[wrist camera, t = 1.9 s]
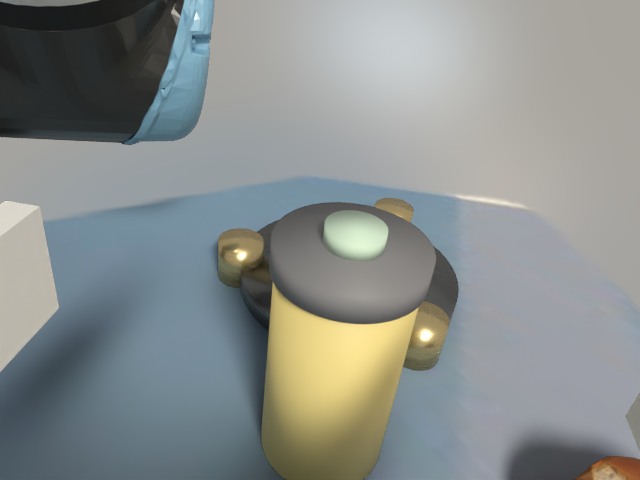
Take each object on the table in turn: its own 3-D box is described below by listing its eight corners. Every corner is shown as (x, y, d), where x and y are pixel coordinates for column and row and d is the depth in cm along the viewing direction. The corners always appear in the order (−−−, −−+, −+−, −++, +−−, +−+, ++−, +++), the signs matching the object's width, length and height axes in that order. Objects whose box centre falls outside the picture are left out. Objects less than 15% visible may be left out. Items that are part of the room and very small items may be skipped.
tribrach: (186, 293, 38) (185, 257, 36) (312, 199, 51) (315, 170, 49) (415, 403, 31) (426, 367, 30) (489, 264, 45) (499, 233, 43)
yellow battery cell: (231, 451, 28) (237, 233, 20) (299, 369, 33) (323, 173, 26) (349, 522, 25) (403, 302, 18) (403, 421, 30) (461, 220, 23)
